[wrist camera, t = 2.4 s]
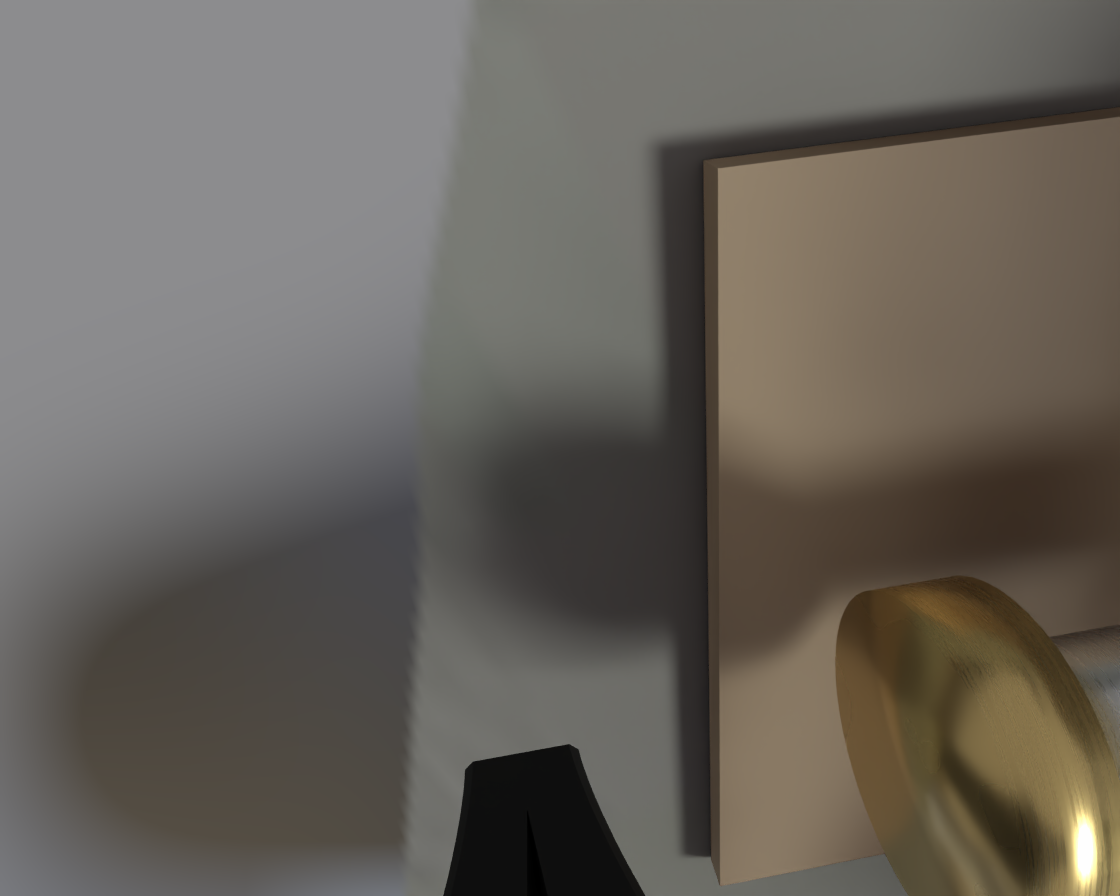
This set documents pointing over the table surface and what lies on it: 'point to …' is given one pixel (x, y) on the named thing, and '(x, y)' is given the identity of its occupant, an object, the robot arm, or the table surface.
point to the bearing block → (895, 428)
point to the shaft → (982, 741)
